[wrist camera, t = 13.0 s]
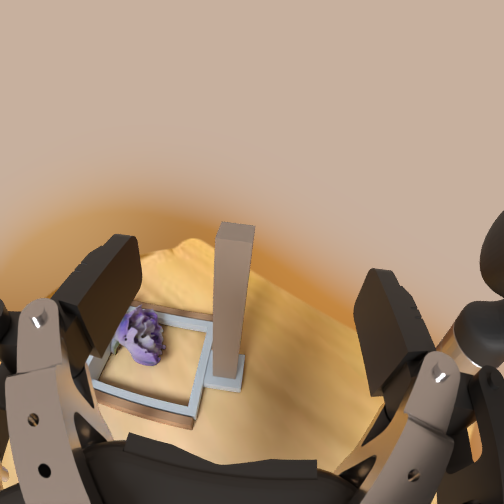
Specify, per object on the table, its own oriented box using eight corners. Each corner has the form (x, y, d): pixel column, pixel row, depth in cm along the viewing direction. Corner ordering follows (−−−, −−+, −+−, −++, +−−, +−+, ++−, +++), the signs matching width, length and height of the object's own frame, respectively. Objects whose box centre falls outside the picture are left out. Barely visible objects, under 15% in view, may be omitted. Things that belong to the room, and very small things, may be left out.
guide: (31, 371, 29) (26, 364, 28) (82, 294, 46) (79, 287, 45) (192, 430, 29) (191, 425, 28) (216, 323, 46) (216, 315, 45)
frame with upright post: (84, 386, 30) (14, 252, 18) (124, 310, 44) (100, 185, 32) (235, 426, 30) (258, 299, 17) (247, 333, 44) (267, 200, 32)
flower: (86, 351, 29) (141, 310, 31) (95, 325, 37) (141, 291, 39) (132, 395, 32) (184, 360, 34) (131, 365, 40) (176, 334, 42)
